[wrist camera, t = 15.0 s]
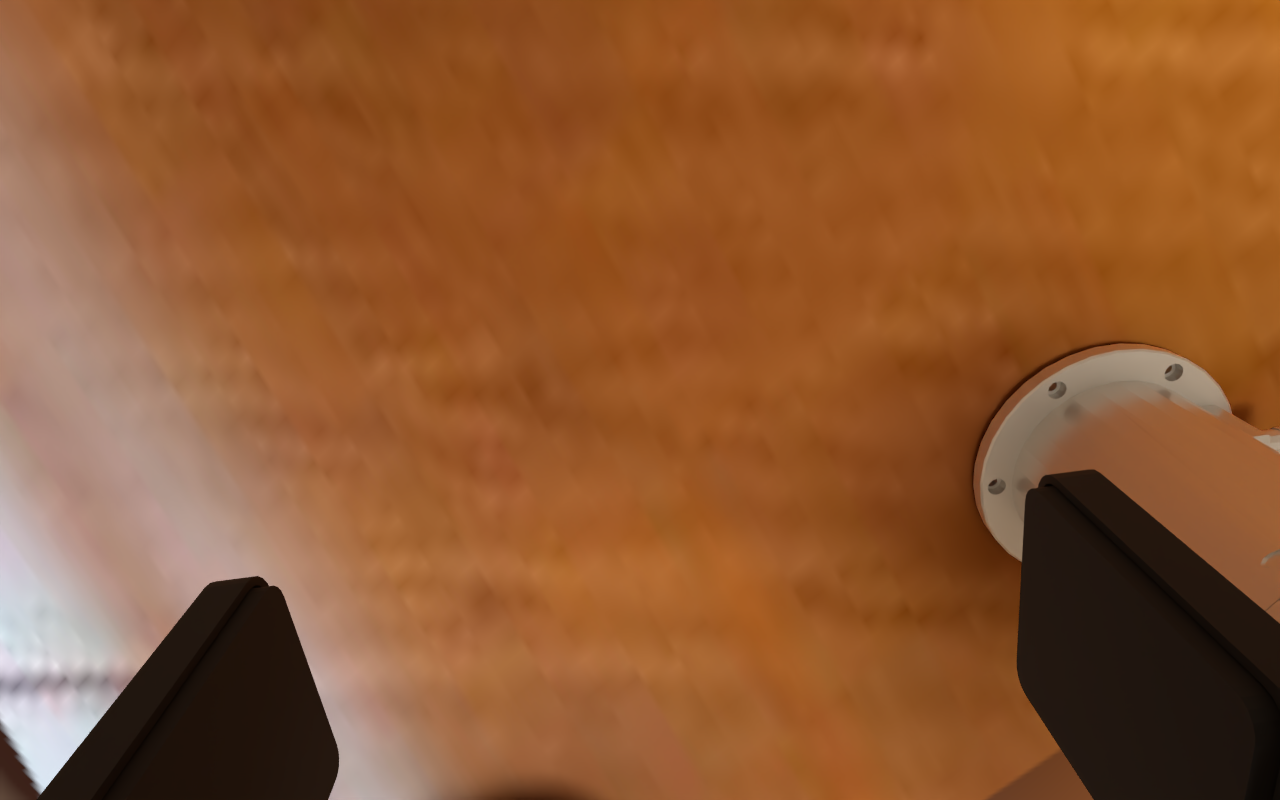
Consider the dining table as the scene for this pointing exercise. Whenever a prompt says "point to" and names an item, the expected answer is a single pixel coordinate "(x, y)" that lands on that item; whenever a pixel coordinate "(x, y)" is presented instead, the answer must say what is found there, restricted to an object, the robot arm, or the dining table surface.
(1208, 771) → the robot arm
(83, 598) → the dining table surface
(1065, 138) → the dining table surface
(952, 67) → the dining table surface
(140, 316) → the dining table surface
